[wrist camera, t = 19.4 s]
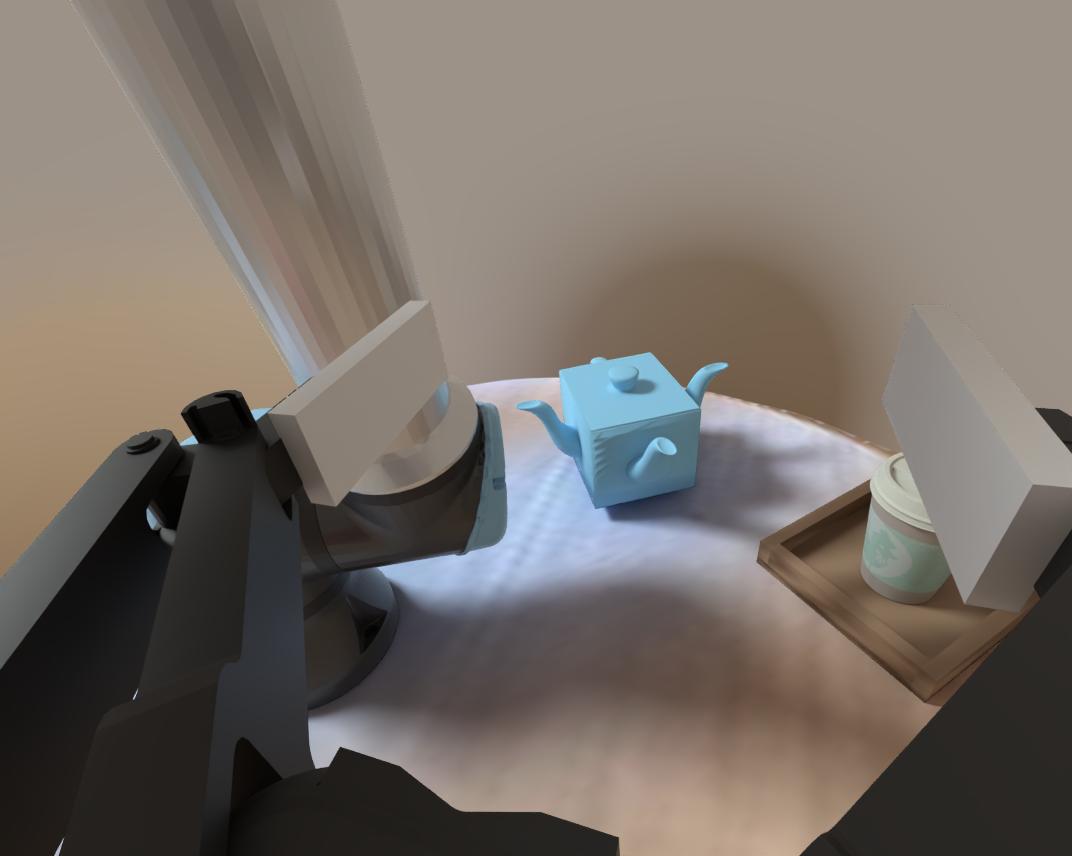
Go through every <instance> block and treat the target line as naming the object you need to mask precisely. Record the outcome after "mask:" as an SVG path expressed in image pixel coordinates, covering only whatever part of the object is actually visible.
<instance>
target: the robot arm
mask: <svg viewBox="0 0 1072 856" xmlns="http://www.w3.org/2000/svg"><path fill="white" fill-rule="evenodd" d="M69 2H70V4H71V6H72V7H73V9H74V11H75V12H76V14H77V16H78V17H79V19H80V20H81V22H82V24H83V25H84V27H85V29H86V31H87V32H88V34H89V36H90V37H91V39H92V41H93V43H94V44H95V46H96V47H97V49H98V51H99V53H100V54H101V56H102V58H103V59H104V61H105V63H106V64H107V66H108V68H109V69H110V71H111V73H112V74H113V76H114V78H115V79H116V81H117V83H118V85H119V86H120V88H121V90H122V91H123V93H124V95H125V96H126V98H127V100H128V101H129V103H130V105H131V106H132V108H133V110H134V111H135V113H136V115H137V117H138V118H139V120H140V121H141V123H142V125H143V127H144V128H145V130H146V132H147V133H148V135H149V137H150V138H151V140H152V142H153V143H154V145H155V147H156V148H157V150H158V152H159V154H160V155H161V157H162V159H163V160H164V162H165V164H166V165H167V167H168V169H169V170H170V172H171V174H172V175H173V177H174V179H175V180H176V182H177V184H178V185H179V187H180V189H181V190H182V192H183V194H184V196H185V197H186V199H187V200H188V202H189V204H190V206H191V207H192V209H193V210H194V212H195V214H196V216H197V217H198V219H199V221H200V222H201V224H202V226H203V227H204V229H205V231H206V232H207V234H208V236H209V238H210V239H211V241H212V242H213V244H214V246H215V248H216V249H217V251H218V253H219V254H220V256H221V258H222V259H223V261H224V263H225V264H226V266H227V268H228V270H229V271H230V273H231V275H232V276H233V278H234V280H235V281H236V283H237V284H238V286H239V288H240V290H241V291H242V293H243V295H244V296H245V298H246V300H247V301H248V303H249V304H250V307H251V308H252V310H253V311H254V313H255V315H256V317H257V318H258V320H259V322H260V323H261V325H262V327H263V328H264V330H265V332H266V333H267V335H268V336H269V338H270V340H271V342H272V343H273V345H274V347H275V348H276V350H277V352H278V353H279V355H280V357H281V359H282V360H283V362H284V363H285V365H286V367H287V369H288V370H289V372H290V374H291V375H292V377H293V379H294V381H295V382H296V384H297V385H298V389H297V390H294V391H293V392H292V393H291V394H289V395H288V397H287V398H284V399H283V400H282V401H280V402H279V403H278V404H277V405H275V406H274V407H273V408H263V409H256V410H251V411H250V409H249V407H248V405H247V403H246V401H245V399H244V397H243V395H242V393H241V392H239V391H236V390H225V391H220V392H215V393H212V394H209V395H206V396H203V397H201V398H199V399H197V400H195V401H193V402H192V403H190V404H189V405H188V406H186V407H185V408H184V409H183V411H182V412H181V415H182V417H183V419H184V420H185V422H186V423H187V425H188V427H189V429H190V430H191V432H192V433H193V436H191V437H189V438H188V439H186V440H185V441H183V442H182V443H180V444H179V442H178V441H177V439H176V438H175V436H174V434H173V433H172V431H170V430H166V429H161V430H154V431H149V432H142V433H139V435H135V436H132V437H131V438H130V439H129V440H127V441H126V442H124V443H122V444H121V445H120V446H119V447H117V448H116V449H115V450H114V451H113V452H112V454H111V455H110V456H109V457H108V458H107V459H106V460H105V461H104V462H103V464H102V465H101V466H100V467H99V468H98V469H97V470H96V472H95V473H94V474H93V475H92V476H91V477H90V478H89V479H88V481H87V482H86V483H85V484H84V485H83V486H82V488H81V489H80V490H79V491H78V492H77V493H76V494H75V495H74V497H73V498H72V499H71V500H70V501H69V502H68V503H67V504H66V506H65V507H64V508H63V509H62V510H61V511H60V512H59V514H58V515H57V516H56V517H55V518H54V519H53V520H52V521H51V523H50V524H49V525H48V526H47V527H46V528H45V529H44V531H43V532H42V533H41V534H40V535H39V536H38V537H37V539H36V540H35V541H34V542H33V543H32V544H31V545H30V546H29V548H28V549H27V550H26V551H25V552H24V553H23V554H22V556H21V557H20V558H19V559H18V560H17V562H15V563H14V565H13V566H12V567H11V568H10V569H9V570H8V572H7V573H6V574H5V575H4V576H3V577H2V578H1V580H0V856H54V855H55V853H56V851H57V849H58V847H59V845H60V844H61V842H62V840H63V838H64V840H63V843H62V847H61V850H60V853H59V856H620V849H619V837H616V836H612V835H609V834H606V833H603V832H600V831H597V830H594V829H591V828H588V827H585V826H582V825H579V824H576V823H573V822H569V821H566V820H563V819H560V818H557V817H554V816H551V815H548V814H545V813H542V812H463V811H459V810H456V809H454V808H453V807H451V806H450V805H449V804H448V803H446V802H445V801H444V800H442V799H441V798H440V797H439V796H437V795H436V794H435V793H433V792H432V791H431V790H430V789H428V788H427V787H426V786H424V785H423V784H422V783H421V782H419V781H418V780H417V779H415V778H414V777H413V776H412V775H410V774H409V773H408V772H406V771H405V770H404V769H403V768H401V767H400V766H398V765H394V764H391V763H388V762H385V761H382V760H379V759H376V758H373V757H370V756H367V755H364V754H361V753H358V752H355V751H352V750H348V749H345V748H342V747H340V748H339V750H338V751H337V753H336V755H335V757H334V759H333V760H332V762H331V764H330V766H329V767H325V768H319V769H316V768H315V766H314V763H313V760H312V756H311V752H310V746H309V731H308V709H311V708H314V707H317V706H320V705H323V704H325V703H328V702H330V701H332V700H334V699H336V698H337V697H339V696H341V695H343V694H344V693H346V692H347V691H349V690H350V689H352V688H353V687H354V686H356V685H357V684H358V683H359V682H361V681H362V680H363V679H364V678H365V677H366V676H367V675H368V674H369V673H370V672H371V671H372V670H373V669H374V668H375V667H376V665H377V664H378V663H379V662H380V660H381V659H382V658H383V656H384V655H385V653H386V651H387V650H388V648H389V646H390V644H391V642H392V640H393V637H394V634H395V631H396V628H397V623H398V604H397V600H396V597H395V595H394V593H393V590H392V588H391V586H390V583H389V581H388V580H387V578H386V577H385V576H384V574H383V573H382V572H381V571H380V570H379V569H378V568H377V567H380V566H386V565H392V564H398V563H404V562H410V561H416V560H422V559H428V558H434V557H440V556H447V555H453V554H456V555H465V554H467V553H468V552H469V551H473V550H478V549H482V548H486V547H491V546H493V545H495V544H497V543H498V542H500V540H501V539H502V538H503V536H504V535H505V532H506V528H507V490H506V483H505V458H504V447H503V438H502V430H501V423H500V417H499V412H498V410H497V408H496V406H494V405H493V404H491V403H482V402H475V400H474V398H473V396H472V394H471V392H470V390H469V389H468V388H467V386H466V385H465V384H464V383H463V382H461V381H460V380H459V379H457V378H456V377H454V376H453V375H451V374H448V371H447V367H446V363H445V359H444V354H443V350H442V346H441V342H440V338H439V333H438V329H437V326H436V321H435V317H434V313H433V308H432V304H431V301H424V299H423V296H422V292H421V289H420V285H419V282H418V279H417V275H416V272H415V268H414V265H413V261H412V258H411V254H410V251H409V247H408V244H407V240H406V237H405V234H404V230H403V226H402V223H401V220H400V216H399V213H398V209H397V206H396V202H395V199H394V195H393V192H392V188H391V185H390V181H389V178H388V174H387V171H386V168H385V164H384V161H383V157H382V154H381V150H380V147H379V143H378V140H377V136H376V133H375V130H374V126H373V123H372V119H371V116H370V112H369V109H368V105H367V102H366V98H365V95H364V91H363V88H362V84H361V81H360V77H359V74H358V70H357V67H356V64H355V60H354V57H353V53H352V50H351V46H350V43H349V39H348V36H347V32H346V29H345V26H344V22H343V18H342V15H341V12H340V8H339V5H338V1H337V0H69ZM882 403H883V405H884V408H885V410H886V413H887V415H888V418H889V420H890V422H891V425H892V427H893V430H894V432H895V435H896V437H897V440H898V442H899V445H900V447H901V450H902V452H903V455H904V457H905V459H906V462H907V464H908V467H909V469H910V472H911V474H912V477H913V479H914V482H915V484H916V487H917V489H918V491H919V494H920V496H921V499H922V501H923V504H924V506H925V509H926V511H927V514H928V516H929V519H930V521H931V523H932V526H933V528H934V531H935V533H936V536H937V538H938V541H939V543H940V546H941V548H942V550H943V553H944V555H945V558H946V560H947V563H948V565H949V568H950V570H951V573H952V575H953V578H954V580H955V582H956V585H957V587H958V590H959V592H960V595H961V597H962V600H963V602H964V604H966V605H973V606H979V607H985V608H992V609H998V610H1005V611H1011V612H1018V613H1019V612H1020V610H1021V609H1022V607H1023V606H1024V604H1025V603H1026V601H1027V600H1028V599H1029V597H1030V596H1031V594H1032V593H1033V591H1034V590H1036V592H1037V594H1038V596H1039V598H1040V600H1039V601H1038V602H1037V603H1036V604H1035V605H1034V607H1033V608H1032V609H1031V610H1030V611H1029V612H1028V613H1027V614H1026V615H1025V616H1024V618H1023V619H1022V620H1021V621H1020V622H1019V623H1018V624H1017V625H1016V626H1015V628H1014V629H1013V630H1012V631H1011V632H1010V633H1009V634H1008V635H1007V636H1006V637H1005V639H1004V640H1003V641H1002V642H1001V643H1000V644H999V645H998V646H997V647H996V649H995V650H994V651H993V652H992V653H991V654H990V655H989V656H988V657H987V658H986V660H985V661H984V662H983V663H982V664H981V665H980V666H979V667H978V668H977V669H976V671H975V672H974V673H973V674H972V675H971V676H970V677H969V678H968V679H967V681H966V682H965V683H964V684H963V685H962V686H961V687H960V688H959V689H958V690H957V692H956V693H955V694H954V695H953V696H952V697H951V698H950V699H949V700H948V701H947V703H946V704H945V705H944V706H943V707H942V708H941V709H940V710H939V711H938V713H937V714H936V715H935V716H934V717H933V718H932V719H931V720H930V721H929V722H928V724H927V725H926V726H925V727H924V728H923V729H922V730H921V731H920V732H919V733H918V735H917V736H916V737H915V738H914V739H913V740H912V741H911V742H910V743H909V745H908V746H907V747H906V748H905V749H904V750H903V751H902V752H901V753H900V754H899V756H898V757H897V758H896V759H895V760H894V761H893V762H892V763H891V764H890V766H889V767H888V768H887V769H886V770H885V771H884V772H883V773H882V774H881V775H880V777H879V778H878V779H877V780H876V781H875V782H874V783H873V784H872V785H871V786H870V788H869V789H868V790H867V791H866V792H865V793H864V794H863V795H862V796H861V798H860V799H859V800H858V801H857V802H856V803H855V804H854V805H853V806H852V807H851V809H850V810H849V811H848V812H847V813H846V814H845V815H844V816H843V817H842V818H841V820H840V821H839V822H838V823H837V824H836V825H835V826H834V827H833V828H832V829H831V830H829V831H828V832H826V833H823V834H821V835H820V836H819V837H818V838H817V839H816V840H815V841H813V842H812V843H811V844H810V845H809V846H808V847H807V848H806V849H805V850H804V851H803V853H802V854H801V855H800V856H1072V417H1071V416H1069V415H1068V414H1066V413H1064V412H1063V411H1061V410H1059V409H1045V408H1034V407H1033V406H1032V404H1031V403H1030V402H1029V401H1028V400H1027V398H1026V397H1025V396H1024V395H1023V393H1022V392H1021V391H1020V390H1019V389H1018V387H1017V386H1016V385H1015V384H1014V382H1013V381H1012V380H1011V379H1010V378H1009V376H1008V375H1007V374H1006V373H1005V371H1004V370H1003V369H1002V368H1001V367H1000V366H999V364H998V363H997V362H996V361H995V359H994V358H993V357H992V355H991V354H990V353H989V352H988V351H987V349H986V348H985V347H984V346H983V344H982V343H981V342H980V341H979V340H978V338H977V337H976V336H975V335H974V333H973V332H972V331H971V330H970V329H969V327H968V326H967V325H966V324H965V322H963V320H962V319H961V318H960V316H959V315H958V314H957V313H956V311H955V310H954V309H953V308H952V307H951V305H923V304H919V305H918V304H917V305H915V304H912V307H911V310H910V313H909V316H908V319H907V323H906V326H905V329H904V332H903V335H902V338H901V342H900V345H899V348H898V351H897V354H896V358H895V361H894V364H893V367H892V370H891V373H890V376H889V380H888V383H887V386H886V389H885V393H884V395H883V399H882ZM150 526H151V527H150ZM137 689H138V691H137ZM136 691H137V694H136V697H135V699H134V700H132V699H133V697H134V695H135V693H136ZM64 836H65V837H64Z"/></svg>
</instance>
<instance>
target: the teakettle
mask: <svg viewBox="0 0 1072 856" xmlns="http://www.w3.org/2000/svg"><path fill="white" fill-rule="evenodd" d="M727 367H728V364H727V363H715V364H711V365H708V366H705V367H703V368H702V369H700V370H699V371H698V372H697V373H696V374H695V376H694V377H693V378H692V380H691V381H690V383H689V385H688V386H687V388H686V390H684V389H683V388H682V387H681V385H679V383H678V382H677V381H676V380H675V379H674V378H673V376H672V375H671V374H670V373H669V372H668V371H667V370H666V369H665V368H664V366H663V365H662V364H661V363H660V362H659V361H658V360H657V359H656V358H655V357H654V356H653V355H652V354H651V353H650V352H649V353H644V354H639V355H634V356H629V357H623V358H618V359H613V360H606V359H605V358H602V357H597V358H594V359H592V360H591V363H590V364H588V365H583V366H578V367H573V368H568V369H562V370H560V371H559V376H560V386H561V396H562V407H563V417H564V424H563V423H562V422H561V421H560V420H559V419H558V417H557V415H556V413H555V412H554V410H553V409H552V407H551V406H549V405H548V404H547V403H545V402H542V401H536V400H533V401H525V402H521V403H518V404H516V405H515V407H516V408H517V409H520V410H525V411H528V412H532V413H533V414H535V415H537V416H538V417H539V418H540V419H541V421H542V422H543V424H544V425H545V427H546V429H547V431H548V433H549V435H550V437H551V439H552V440H553V442H554V444H555V445H556V446H557V447H558V448H559V449H560V450H561V451H562V452H563V453H565V454H567V455H569V456H571V457H573V458H574V460H575V463H576V465H577V467H578V470H579V472H580V474H581V477H582V479H583V481H584V484H585V486H586V488H587V491H588V493H589V495H590V498H591V500H592V502H593V504H594V507H595V509H598V508H602V507H607V506H611V505H616V504H620V503H625V502H629V501H634V500H638V499H643V498H647V497H651V496H656V495H660V494H665V493H669V492H674V491H678V490H683V489H687V488H692V487H695V480H696V468H697V456H698V443H699V431H700V419H701V409H700V407H701V403H702V399H703V396H704V393H705V390H706V388H707V386H708V384H709V383H710V381H711V380H712V379H713V378H714V376H716V375H717V374H718V373H720V372H721V371H723V370H724V369H725V368H727Z"/></svg>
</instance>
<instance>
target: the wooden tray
mask: <svg viewBox="0 0 1072 856" xmlns="http://www.w3.org/2000/svg"><path fill="white" fill-rule="evenodd" d="M870 481H871V479H870V480H868V481H866V482H864V483H863V484H861V485H859V486H857V487H856V488H854V489H852V490H850V491H848V492H847V493H845V494H843V495H841V496H840V497H838V498H836V499H834V500H832V501H831V502H829V503H827V504H825V505H824V506H822V507H820V508H818V509H816V510H815V511H813V512H811V513H809V514H808V515H806V516H804V517H802V518H801V519H799V520H797V521H795V522H793V523H792V524H790V525H788V526H786V527H785V528H783V529H781V530H779V531H777V532H776V533H774V534H772V535H770V536H769V537H767V538H765V539H763V540H761V541H760V547H759V552H758V557H757V562H758V563H759V564H760V565H761V566H762V567H764V568H765V569H766V570H767V571H768V572H770V573H771V574H772V575H773V576H774V577H775V578H777V579H778V580H779V581H780V582H781V583H783V584H784V585H785V586H786V587H787V588H789V589H790V590H791V591H792V592H793V593H795V594H796V595H797V596H798V597H799V598H801V599H802V600H803V601H804V602H805V603H806V604H808V605H809V606H810V607H811V608H812V609H814V610H815V611H816V612H817V613H818V614H820V615H821V616H822V617H823V618H824V619H826V620H827V621H828V622H829V623H830V624H832V625H833V626H834V627H835V628H836V629H837V630H839V631H840V632H841V633H842V634H843V635H845V636H846V637H847V638H848V639H849V640H851V641H852V642H853V643H854V644H855V645H857V646H858V647H859V648H860V649H861V650H863V651H864V652H865V653H866V654H867V655H868V656H870V657H871V658H872V659H873V660H874V661H876V662H877V663H878V664H879V665H880V666H882V667H883V668H884V669H885V670H886V671H888V672H889V673H890V674H891V675H892V676H894V677H895V678H896V679H897V680H898V681H900V682H901V683H902V684H903V685H904V686H905V687H907V688H908V689H909V690H910V691H911V692H913V693H914V694H915V695H916V696H917V697H919V698H920V699H921V700H922V701H923V702H926V701H927V700H929V699H930V698H931V697H932V696H933V695H935V694H936V693H937V692H938V691H940V690H941V689H942V688H943V687H944V686H946V685H947V684H948V683H949V682H951V681H952V680H953V679H954V678H956V677H957V676H958V675H959V674H960V673H962V672H963V671H964V670H965V669H967V668H968V667H969V666H970V665H971V664H973V663H974V662H975V661H976V660H978V659H979V658H980V657H981V656H983V655H984V654H985V653H986V652H987V651H989V650H990V649H991V648H992V647H994V646H995V645H996V644H997V643H998V642H1000V641H1001V640H1002V639H1003V638H1005V637H1006V636H1007V635H1008V634H1009V633H1010V632H1011V631H1012V630H1013V629H1014V628H1015V626H1016V625H1017V624H1018V623H1019V622H1020V621H1021V620H1022V619H1023V618H1024V616H1025V615H1026V614H1027V613H1028V612H1029V611H1030V610H1031V609H1032V608H1033V607H1034V605H1035V604H1036V603H1037V602H1038V601H1039V600H1040V598H1039V596H1038V594H1037V592H1036V590H1034V591H1033V593H1032V594H1031V596H1030V597H1029V599H1028V600H1027V601H1026V603H1025V604H1024V606H1023V607H1022V609H1021V610H1020V612H1019V613H1018V612H1011V611H1005V610H998V609H992V608H985V607H979V606H973V605H966V604H964V602H963V600H962V597H961V595H960V592H959V590H958V587H957V585H956V582H955V580H954V578H953V575H952V573H951V574H950V575H949V577H948V578H947V579H946V581H945V582H944V583H943V584H942V586H941V587H940V588H939V589H938V591H937V592H936V593H935V594H934V596H933V597H932V598H931V599H930V600H929V601H927V602H924V603H921V604H904V603H899V602H896V601H893V600H890V599H888V598H886V597H884V596H882V595H880V594H879V593H877V592H876V591H874V590H873V589H872V588H871V587H870V586H869V585H868V584H867V583H866V582H865V580H864V579H863V577H862V574H861V561H862V554H863V547H864V541H865V535H866V529H867V523H868V516H869V510H870V504H871V498H872V492H871V489H870Z"/></svg>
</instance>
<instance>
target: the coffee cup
mask: <svg viewBox="0 0 1072 856" xmlns="http://www.w3.org/2000/svg"><path fill="white" fill-rule="evenodd" d="M870 489H871V492H872V498H871V504H870V510H869V516H868V523H867V529H866V535H865V541H864V547H863V554H862V561H861V574H862V577H863V579H864V580H865V582H866V583H867V584H868V585H869V586H870V587H871V588H872V589H873V590H874V591H876V592H877V593H879V594H880V595H882V596H884V597H886V598H888V599H890V600H893V601H896V602H899V603H904V604H921V603H924V602H927V601H929V600H930V599H931V598H932V597H933V596H934V594H935V593H936V592H937V591H938V589H939V588H940V587H941V586H942V584H943V583H944V582H945V581H946V579H947V578H948V577H949V575H950V574H951V570H950V568H949V565H948V563H947V560H946V558H945V555H944V553H943V550H942V548H941V546H940V543H939V541H938V538H937V536H936V533H935V531H934V528H933V526H932V523H931V521H930V519H929V516H928V514H927V511H926V509H925V506H924V504H923V501H922V499H921V496H920V494H919V491H918V489H917V487H916V484H915V482H914V479H913V477H912V474H911V472H910V469H909V467H908V464H907V462H906V459H905V457H904V455H903V452H902V453H898V454H896V455H893V456H892V457H890V458H889V459H888V460H887V461H886V462H885V463H884V464H883V465H882V466H880V467H879V468H878V469H877V470H876V472H875V474H874V475H873V476H872V478H871V481H870Z"/></svg>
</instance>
